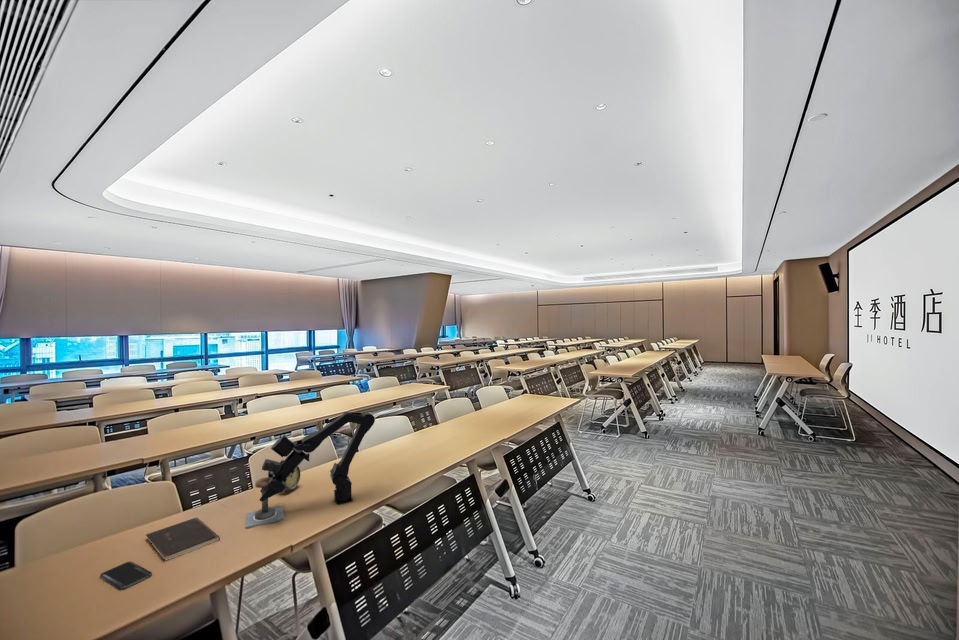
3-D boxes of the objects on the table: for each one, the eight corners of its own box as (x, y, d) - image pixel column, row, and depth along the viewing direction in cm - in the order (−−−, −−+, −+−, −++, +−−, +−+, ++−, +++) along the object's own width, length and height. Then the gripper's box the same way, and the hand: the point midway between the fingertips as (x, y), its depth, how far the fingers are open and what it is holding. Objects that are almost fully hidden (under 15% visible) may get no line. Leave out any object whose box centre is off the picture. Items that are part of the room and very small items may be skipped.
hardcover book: (164, 563, 129) (164, 556, 129) (146, 540, 144) (146, 534, 144) (219, 541, 142) (219, 535, 142) (198, 522, 156) (197, 516, 156)
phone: (121, 588, 115) (98, 574, 122) (121, 592, 115) (98, 577, 122) (153, 573, 122) (130, 560, 129) (153, 576, 122) (130, 563, 129)
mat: (282, 506, 167) (282, 505, 167) (284, 519, 156) (284, 517, 156) (246, 514, 161) (246, 512, 161) (245, 528, 149) (245, 526, 149)
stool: (278, 510, 162) (277, 476, 162) (270, 519, 155) (270, 483, 155) (259, 511, 161) (259, 477, 161) (251, 520, 154) (250, 484, 154)
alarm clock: (285, 496, 177) (285, 460, 177) (275, 495, 178) (274, 459, 179) (301, 486, 188) (300, 452, 188) (291, 485, 189) (290, 451, 189)
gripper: (274, 445, 169) (245, 477, 163) (275, 458, 152) (242, 493, 147) (295, 461, 172) (267, 492, 167) (297, 475, 156) (266, 510, 150)
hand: (260, 496), depth 158 cm, fingers open, 9 cm apart
